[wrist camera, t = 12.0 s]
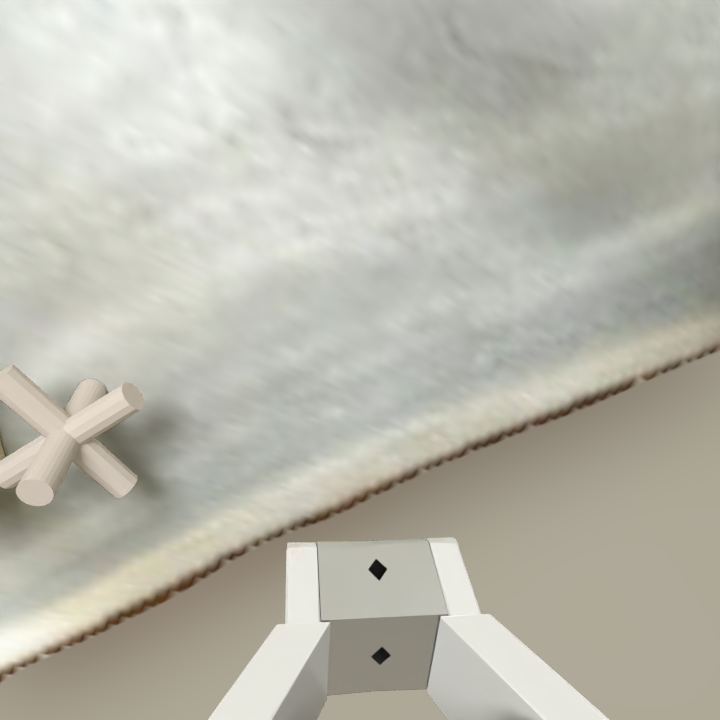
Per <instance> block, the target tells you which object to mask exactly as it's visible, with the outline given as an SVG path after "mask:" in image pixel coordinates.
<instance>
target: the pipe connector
mask: <svg viewBox="0 0 720 720" xmlns="http://www.w3.org/2000/svg"><path fill="white" fill-rule="evenodd" d="M106 393H107V392H106V388H105V386H104V385H103V384H102V383H101V382H100V381H97V380H95V379H85V380H83V381H82V382H80V383H79V385H78V387H77V388H76V390H75V392H74V393H73V395H72V397H71V398H70V400H69V402H68V403H67V405H66V407H65V408H64V410H63V409H62V408H61V407H60V406H59V405H58V404H57V403H56V402H55V401H53V400H52V399H51V398H50V397H49V396H48V395H47V394H46V393H45V392H43V391H42V390H41V389H40V388H39V387H38V386H37V385H36V384H35V383H33V382H32V381H31V380H30V379H29V378H28V377H27V376H26V375H25V374H23V373H22V372H21V371H20V370H19V369H18V368H17V367H16V366H15V365H10V366H8V367H6V368H5V369H4V370H2V371H1V372H0V400H1V401H2V402H4V403H5V404H6V405H7V406H8V407H9V408H11V409H12V410H13V411H14V412H15V413H16V414H18V415H19V416H20V417H21V418H22V419H23V420H25V421H26V422H27V423H28V424H29V425H30V426H32V427H33V428H34V429H35V430H36V431H38V432H39V433H40V434H41V435H40V436H39V437H37V438H36V439H34V440H32V441H31V442H29V443H28V444H26V445H24V446H23V447H21V448H20V449H18V450H16V451H15V452H13V453H12V454H10V455H8V456H7V457H5V458H4V459H2V460H0V487H2V488H4V489H10V488H13V487H15V486H17V487H16V495H17V496H18V498H19V499H20V500H21V501H23V502H24V503H26V504H29V505H33V506H43V505H46V504H48V503H50V502H51V501H52V499H53V497H54V495H55V493H56V492H57V490H58V488H59V486H60V484H61V482H62V480H63V478H64V476H65V474H66V472H67V470H68V468H69V466H70V464H71V462H72V461H73V462H74V463H75V464H76V465H77V466H79V467H80V468H81V469H82V470H83V471H84V472H86V473H87V474H88V475H89V476H90V477H91V478H93V479H94V480H95V481H96V482H97V483H99V484H100V485H101V486H102V487H103V488H104V489H106V490H107V491H108V492H109V493H110V494H111V495H113V496H114V497H115V498H117V499H118V498H121V497H123V496H124V495H126V494H127V493H128V492H129V491H130V490H131V489H132V488H133V487H134V486H135V484H136V482H137V480H138V476H137V475H136V474H135V473H133V472H132V471H131V470H130V469H129V468H128V467H127V466H126V465H125V464H123V463H122V462H121V461H120V460H119V459H118V458H117V457H116V456H115V455H113V454H112V453H111V452H110V451H109V450H108V449H107V448H106V447H105V446H103V445H102V444H101V443H100V442H99V441H98V440H97V439H96V438H95V437H97V436H99V435H100V434H102V433H103V432H105V431H107V430H108V429H110V428H112V427H113V426H115V425H117V424H118V423H120V422H121V421H123V420H125V419H126V418H128V417H130V416H131V415H133V414H135V413H136V412H138V411H140V410H141V409H142V408H143V407H144V399H143V396H142V394H141V392H140V391H139V390H138V388H137V387H135V386H134V385H133V384H131V383H126V382H125V383H124V384H122V385H121V386H119V387H117V388H116V389H114V390H113V391H111V392H109V393H108V394H106Z"/></svg>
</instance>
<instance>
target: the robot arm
mask: <svg viewBox="0 0 720 720" xmlns="http://www.w3.org/2000/svg"><path fill="white" fill-rule="evenodd" d="M286 555H287V557H286V615H285V616H286V617H285V624H277V625H276V626H275V627H274V629H273V630H272V631H271V633H270V634H269V636H268V637H267V638H266V640H265V641H264V642H263V644H262V645H261V647H260V648H259V650H258V651H257V652H256V654H255V655H254V657H253V658H252V659H251V661H250V662H249V663H248V665H247V666H246V667H245V669H244V670H243V672H242V673H241V675H240V676H239V677H238V679H237V680H236V681H235V683H234V684H233V686H232V687H231V688H230V690H229V691H228V692H227V694H226V695H225V697H224V698H223V699H222V701H221V702H220V704H219V705H218V706H217V708H216V709H215V711H214V712H213V713H212V715H211V716H210V718H209V719H208V720H317V718H318V716H319V714H320V712H321V710H322V708H323V706H324V704H325V702H326V700H327V696H328V695H339V694H350V693H360V692H371V691H389V690H415V689H416V690H417V689H427V693H428V694H429V696H430V697H431V698H432V699H433V701H434V702H435V703H436V705H437V706H438V707H439V709H440V710H441V711H442V713H443V714H444V715H445V717H446V718H447V719H448V720H609V719H608V718H607V717H606V716H605V715H604V714H603V713H601V712H600V711H599V710H598V709H597V708H596V707H595V706H594V705H592V704H591V703H590V702H589V701H588V700H587V699H586V698H585V697H583V696H582V695H581V694H580V693H579V692H578V691H577V690H576V689H574V688H573V687H572V686H571V685H570V684H569V683H568V682H567V681H565V680H564V679H563V678H562V677H561V676H560V675H559V674H558V673H556V672H555V671H554V670H553V669H552V668H551V667H550V666H549V665H547V664H546V663H545V662H544V661H543V660H542V659H541V658H540V657H538V656H537V655H536V654H535V653H534V652H533V651H532V650H531V649H529V648H528V647H527V646H526V645H525V644H524V643H523V642H521V641H520V640H519V639H518V638H517V637H516V636H515V635H514V634H513V633H511V632H510V631H509V630H508V629H507V628H506V627H505V626H504V625H502V624H501V623H500V622H499V621H498V620H497V619H496V618H494V617H493V616H492V615H491V614H482V613H481V610H480V607H479V604H478V601H477V598H476V595H475V592H474V589H473V586H472V584H471V581H470V578H469V575H468V572H467V569H466V566H465V563H464V560H463V557H462V554H461V551H460V548H459V545H458V542H457V541H456V540H455V538H453V537H447V538H426V539H424V538H421V539H399V540H378V541H377V540H376V541H349V542H348V541H345V542H317V545H316V542H301V543H300V542H299V543H297V542H294V543H288V544H287V554H286Z"/></svg>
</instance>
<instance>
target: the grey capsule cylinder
mask: <svg viewBox="0 0 720 720" xmlns="http://www.w3.org/2000/svg"><path fill="white" fill-rule="evenodd" d="M4 458H5V454H4V450H3V447H2V444H1V440H0V460H2V459H4Z"/></svg>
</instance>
